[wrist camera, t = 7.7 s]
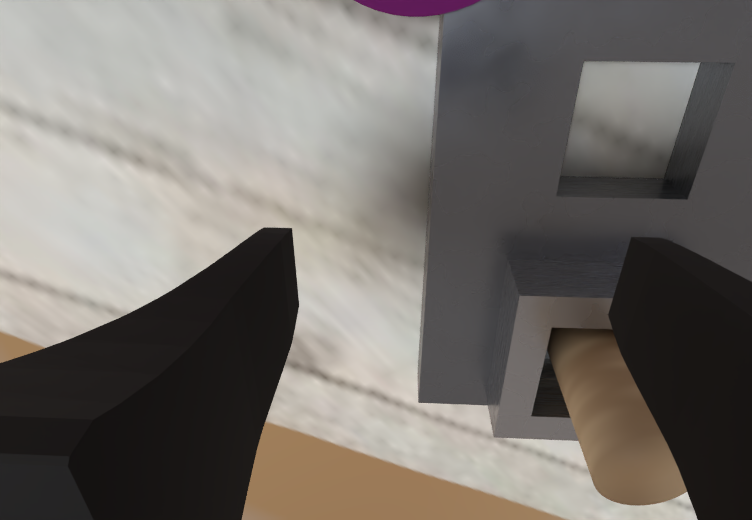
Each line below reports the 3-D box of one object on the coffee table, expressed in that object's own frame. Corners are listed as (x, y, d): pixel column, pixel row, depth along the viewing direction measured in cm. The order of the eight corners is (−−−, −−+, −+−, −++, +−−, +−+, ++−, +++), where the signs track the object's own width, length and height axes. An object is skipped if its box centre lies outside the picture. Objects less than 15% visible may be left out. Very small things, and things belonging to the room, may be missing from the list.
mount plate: (869, -15, 17) (1005, -3, 13) (691, 383, 26) (740, 458, 22) (442, -18, 17) (452, -8, 14) (417, 373, 27) (419, 444, 23)
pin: (606, 268, 23) (707, 430, 15) (610, 326, 25) (703, 498, 17) (529, 284, 24) (588, 446, 16) (538, 339, 25) (596, 510, 18)
